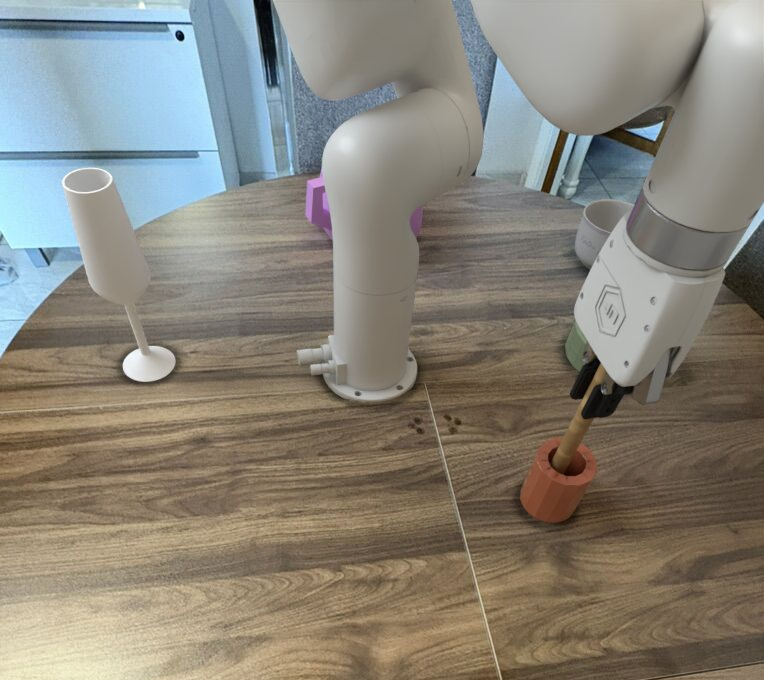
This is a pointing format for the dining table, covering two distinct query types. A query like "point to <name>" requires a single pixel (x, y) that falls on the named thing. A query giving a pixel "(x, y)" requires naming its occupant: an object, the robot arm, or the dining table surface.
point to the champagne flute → (114, 260)
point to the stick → (576, 429)
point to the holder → (556, 483)
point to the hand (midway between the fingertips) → (590, 404)
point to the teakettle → (321, 215)
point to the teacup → (598, 227)
